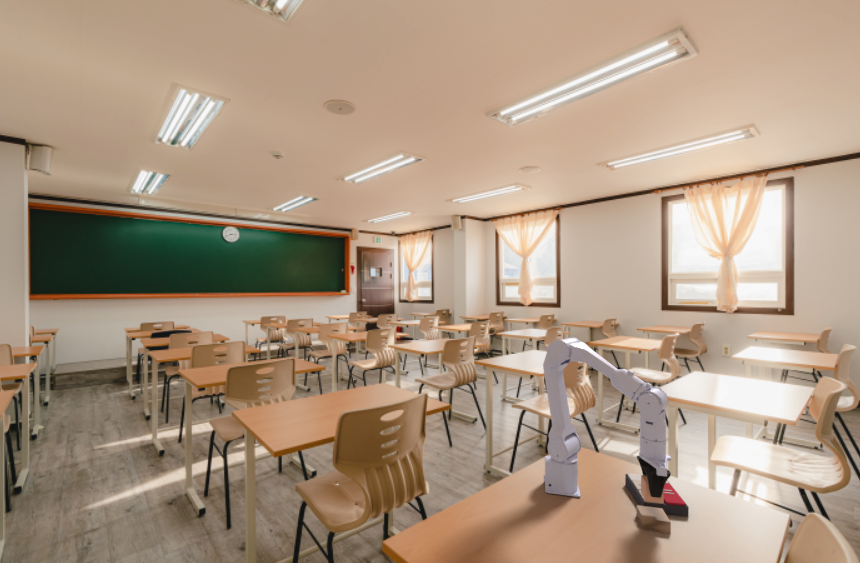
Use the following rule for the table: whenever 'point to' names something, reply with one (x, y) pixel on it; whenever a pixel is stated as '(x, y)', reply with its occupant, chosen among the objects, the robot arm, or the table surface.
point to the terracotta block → (646, 491)
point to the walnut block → (653, 519)
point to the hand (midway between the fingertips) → (652, 491)
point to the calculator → (670, 506)
